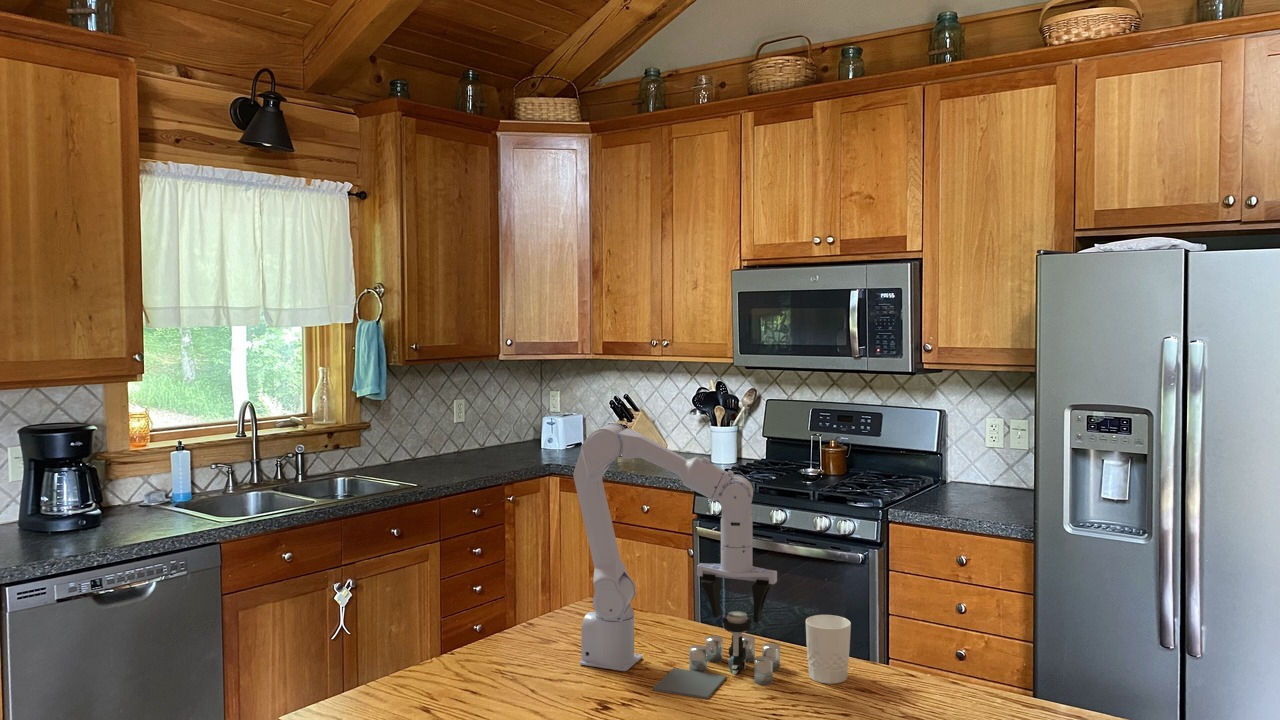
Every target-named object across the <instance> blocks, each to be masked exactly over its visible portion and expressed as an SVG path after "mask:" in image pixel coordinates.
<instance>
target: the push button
mask: <svg viewBox="0 0 1280 720" xmlns="http://www.w3.org/2000/svg"><path fill="white" fill-rule="evenodd" d="M726 614H727V616H724V617H723V618H722V620H721V621H722V623H723V628H724V630H725V631H727V632H728V633H731V634H732V635H731V643H730V646H729V647H728V655H729V659H728V668H730V673H731V674H733V675H737V674H741V671H742V669H743V667H744V670H745V669H746V668H747V662H746V649H745V648H743V642H742V634H745V633H747V632H749V631H750V630H751V626H752V625H751V624H752V623H753V619H752V618H750V617H749V616H748V615H747V613H746V612H744V611H738V610H737V611H730V612H728V613H726Z"/></svg>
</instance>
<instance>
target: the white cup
mask: <svg viewBox="0 0 1280 720" xmlns="http://www.w3.org/2000/svg"><path fill="white" fill-rule="evenodd" d="M851 626H852V623H851V621H850V620H849V619H848V618H846V617H844V616H839V615H835V614H834V615H832V614H815V615H812V616H809V617H808V616H807V617H806V619H805V636H806V637H805V640H806V644H805V645H806V654H807V655H806V656H807V657H806V658H807V662H808V663H807V664H808V665H807V666H808V676H809V678H810V679H811V680H813V681H815V682H817V683H821V684H826V685H827V684H828V685H830V684H831V685H832V684H833V685H835V684H840V683H844V682H845V681H847V679H848V675H849V674H848V671H849V670H848V669H849V663H850V662H849V660H850V647H851V646H850V645H851V629H852V627H851Z"/></svg>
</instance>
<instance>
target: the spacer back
mask: <svg viewBox="0 0 1280 720" xmlns="http://www.w3.org/2000/svg"><path fill="white" fill-rule="evenodd" d="M742 642H743V648H745V649H746V663H750V662H754V658H755V657H756V655H755V654H756V650H755V649H756V644H755V643H756V637H755V636H754V635H750V634H749V635H747V634H743V635H742Z"/></svg>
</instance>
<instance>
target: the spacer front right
mask: <svg viewBox="0 0 1280 720" xmlns="http://www.w3.org/2000/svg"><path fill="white" fill-rule="evenodd" d="M753 671H754V672H753V677H754V678H753V682H754V683H755V684H756V685H759V686H769V685H772V684H773V672H774V671H773V659H772V658H770V657H766V656H762V655H760V656H755V658H754V661H753Z"/></svg>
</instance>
